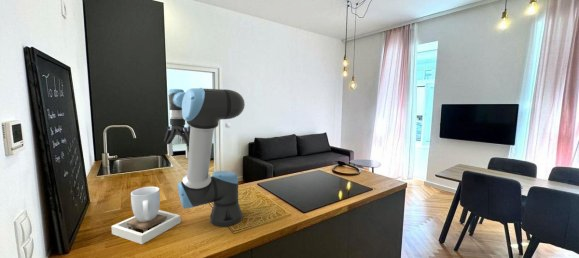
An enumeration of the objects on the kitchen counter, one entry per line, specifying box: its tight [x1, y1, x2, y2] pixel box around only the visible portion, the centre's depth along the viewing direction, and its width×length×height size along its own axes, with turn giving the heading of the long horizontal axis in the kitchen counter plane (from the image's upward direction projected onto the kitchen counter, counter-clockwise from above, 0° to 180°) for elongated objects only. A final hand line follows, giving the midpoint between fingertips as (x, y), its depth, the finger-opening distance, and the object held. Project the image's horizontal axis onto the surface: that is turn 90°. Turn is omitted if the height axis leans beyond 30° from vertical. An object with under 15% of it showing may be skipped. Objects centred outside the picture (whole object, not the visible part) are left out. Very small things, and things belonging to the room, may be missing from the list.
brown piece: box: [127, 214, 167, 233], centre depth 105 cm, size 11×11×4 cm
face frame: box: [110, 209, 182, 245], centre depth 105 cm, size 19×19×4 cm
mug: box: [130, 186, 161, 222], centre depth 104 cm, size 15×11×13 cm
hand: (179, 156), depth 130 cm, fingers open, 13 cm apart
